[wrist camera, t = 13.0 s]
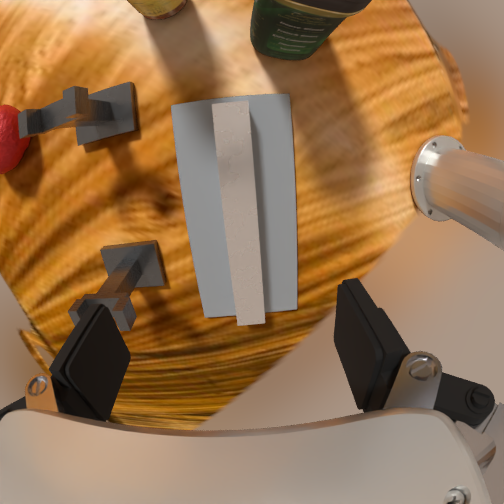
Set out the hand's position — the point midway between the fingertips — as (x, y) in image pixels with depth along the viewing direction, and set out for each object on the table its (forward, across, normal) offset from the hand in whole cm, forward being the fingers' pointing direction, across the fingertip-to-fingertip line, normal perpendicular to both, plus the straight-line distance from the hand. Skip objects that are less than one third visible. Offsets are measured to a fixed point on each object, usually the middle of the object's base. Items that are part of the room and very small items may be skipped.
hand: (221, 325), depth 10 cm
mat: (+23, 0, +3) cm, 24 cm away
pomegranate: (+23, +31, -15) cm, 42 cm away
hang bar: (+23, 0, +3) cm, 23 cm away
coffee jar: (+24, -8, -20) cm, 32 cm away
